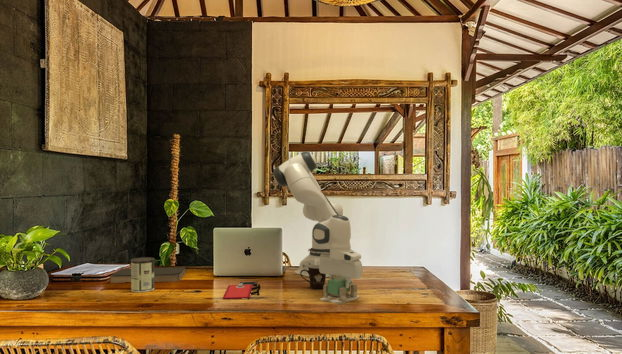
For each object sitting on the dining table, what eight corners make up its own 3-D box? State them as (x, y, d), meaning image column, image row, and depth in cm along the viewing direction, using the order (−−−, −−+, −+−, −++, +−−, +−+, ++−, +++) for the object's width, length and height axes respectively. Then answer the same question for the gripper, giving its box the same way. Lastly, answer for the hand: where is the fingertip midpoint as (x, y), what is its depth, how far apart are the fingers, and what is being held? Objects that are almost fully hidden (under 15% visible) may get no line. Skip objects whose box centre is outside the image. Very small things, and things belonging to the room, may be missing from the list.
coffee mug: (329, 286, 224) (329, 265, 224) (323, 291, 216) (323, 268, 216) (305, 285, 228) (305, 264, 228) (299, 289, 220) (299, 267, 220)
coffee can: (142, 286, 225) (142, 256, 225) (159, 288, 221) (159, 258, 221) (125, 291, 216) (125, 259, 216) (142, 293, 211) (142, 261, 211)
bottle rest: (320, 300, 200) (320, 286, 200) (339, 293, 211) (339, 280, 211) (340, 304, 193) (340, 289, 193) (359, 297, 204) (359, 283, 204)
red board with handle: (261, 283, 232) (230, 284, 231) (261, 277, 232) (230, 278, 231) (258, 300, 202) (222, 301, 201) (258, 293, 202) (222, 294, 201)
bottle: (327, 293, 199) (327, 279, 199) (346, 286, 210) (346, 274, 210) (337, 294, 196) (337, 281, 196) (356, 288, 207) (356, 276, 207)
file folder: (109, 275, 232) (123, 267, 256) (109, 284, 232) (123, 274, 256) (178, 274, 235) (186, 266, 259) (178, 282, 235) (186, 273, 259)
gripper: (316, 252, 206) (316, 284, 206) (356, 257, 193) (356, 291, 193) (325, 250, 211) (324, 281, 211) (364, 255, 198) (364, 288, 198)
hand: (340, 286), depth 202 cm, fingers closed on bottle, 5 cm apart
